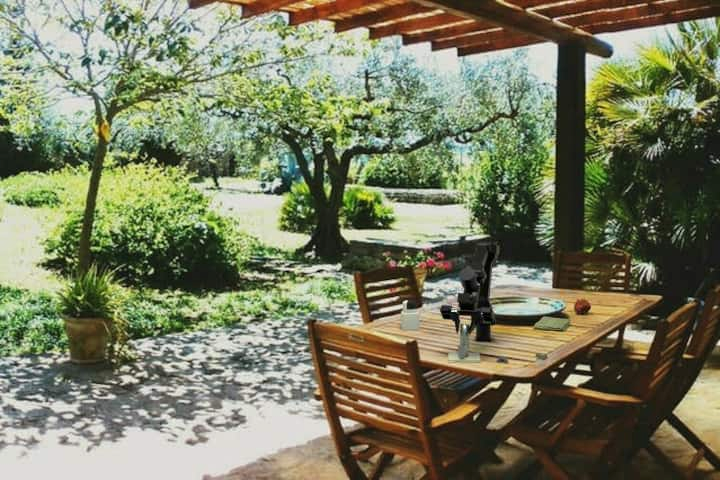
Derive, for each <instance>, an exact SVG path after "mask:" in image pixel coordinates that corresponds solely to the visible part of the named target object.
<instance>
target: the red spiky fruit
mask: <svg viewBox="0 0 720 480" xmlns="http://www.w3.org/2000/svg"><path fill="white" fill-rule="evenodd" d="M573 305H574V306H573V311H574V312H575V314H577V315H586V317H587V316H588V313H589V311H591V308H592V306H591V305H592V304H591V303H590V302H589V301H588V300H587V299H585V298H584V299H583V298H582V299H576V301H575V303H574V304H573Z"/></svg>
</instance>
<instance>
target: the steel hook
mask: <svg viewBox="0 0 720 480" xmlns="http://www.w3.org/2000/svg"><path fill="white" fill-rule="evenodd" d="M469 327H470V324H469V323H460V326H459V331H460V332H459V334H460V335H459V345H458V347H457V348H458V350H457V352H458V357H460V358H464V357H466V356H469V353H470V334H469Z"/></svg>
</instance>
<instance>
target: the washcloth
mask: <svg viewBox="0 0 720 480" xmlns="http://www.w3.org/2000/svg"><path fill="white" fill-rule="evenodd" d="M570 323H571V319H568V318H560V317H553V316H543V317H541V319H540V320H539V321H537V322H536V323H535V324H534V325H533V328H532V329H534V330H540V331H555V332H566V331H567V329H568V328H569V326H570Z"/></svg>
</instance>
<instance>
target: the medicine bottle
mask: <svg viewBox="0 0 720 480" xmlns="http://www.w3.org/2000/svg"><path fill="white" fill-rule="evenodd" d="M400 327H401V329H402V331H419V330H420V313H419V311H418V302H417V301H416V300H411V299H406V300H403V301H402V310H401V311H400Z"/></svg>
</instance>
